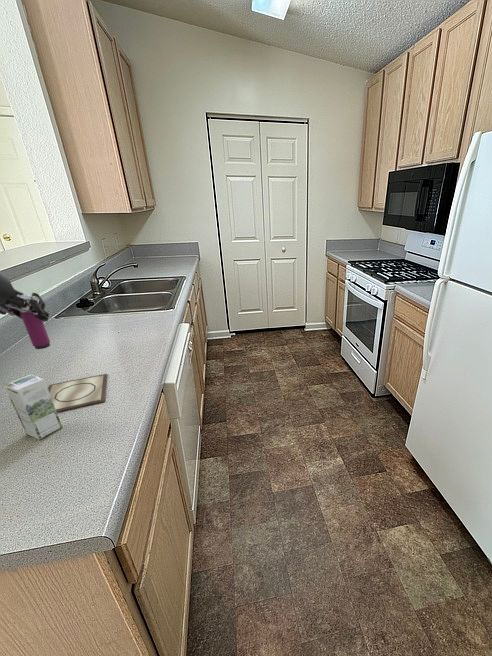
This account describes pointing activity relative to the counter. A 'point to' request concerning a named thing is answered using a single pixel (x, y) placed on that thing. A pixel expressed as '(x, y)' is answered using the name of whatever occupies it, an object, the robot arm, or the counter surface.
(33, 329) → the cylinder
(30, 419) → the syrup box
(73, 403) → the board
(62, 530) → the counter surface
